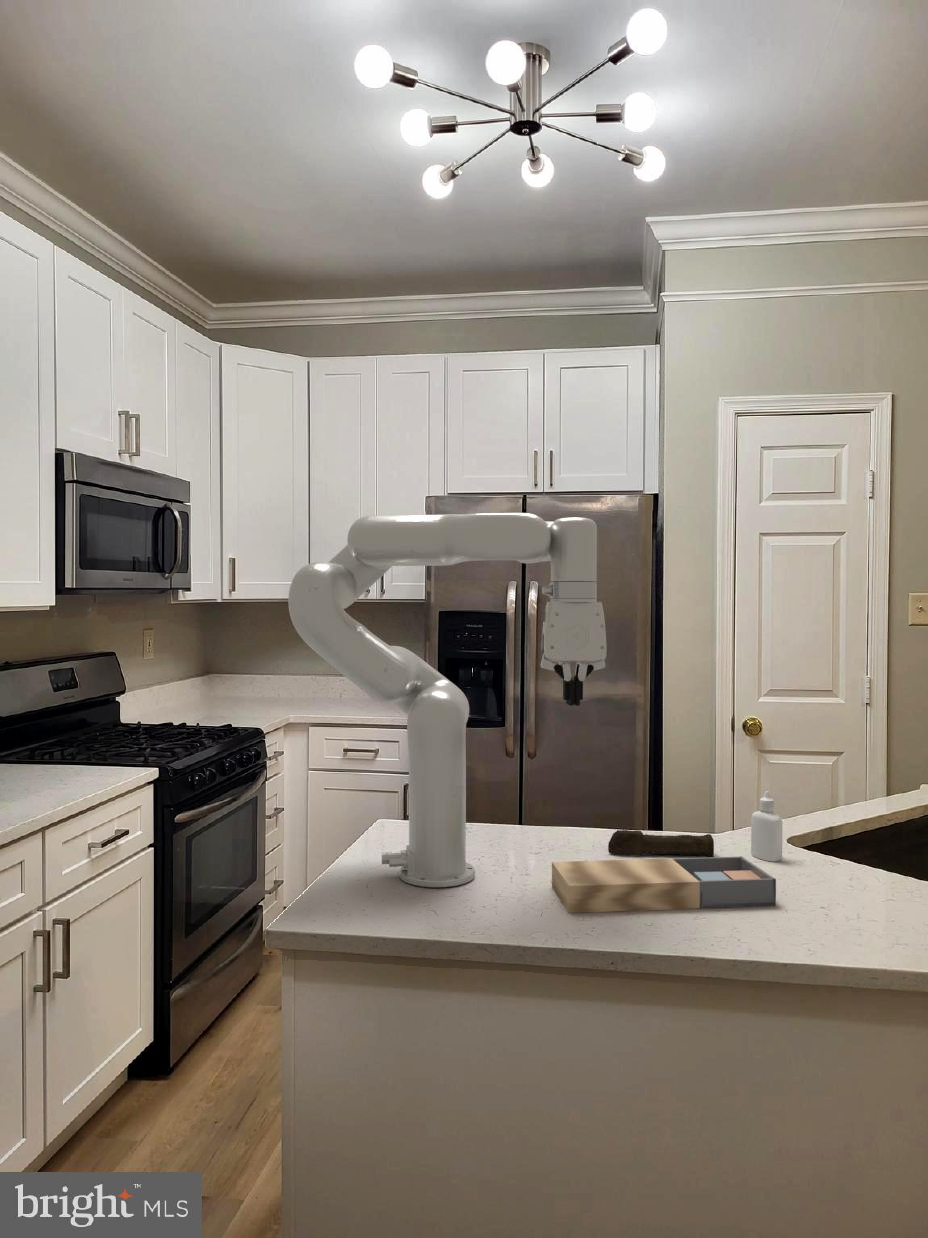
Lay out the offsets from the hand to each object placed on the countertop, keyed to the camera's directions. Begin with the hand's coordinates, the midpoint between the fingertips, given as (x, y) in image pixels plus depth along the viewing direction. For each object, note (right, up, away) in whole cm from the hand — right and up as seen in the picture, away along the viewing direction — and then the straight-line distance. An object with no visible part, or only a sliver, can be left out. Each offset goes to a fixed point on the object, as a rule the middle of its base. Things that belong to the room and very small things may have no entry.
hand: (572, 704), depth 142 cm
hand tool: (+18, -29, +15) cm, 38 cm away
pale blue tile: (+21, -29, -7) cm, 36 cm away
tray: (+23, -29, -6) cm, 38 cm away
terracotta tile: (+26, -26, -6) cm, 37 cm away
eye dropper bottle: (+37, -29, +14) cm, 49 cm away
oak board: (+7, -29, -8) cm, 31 cm away
